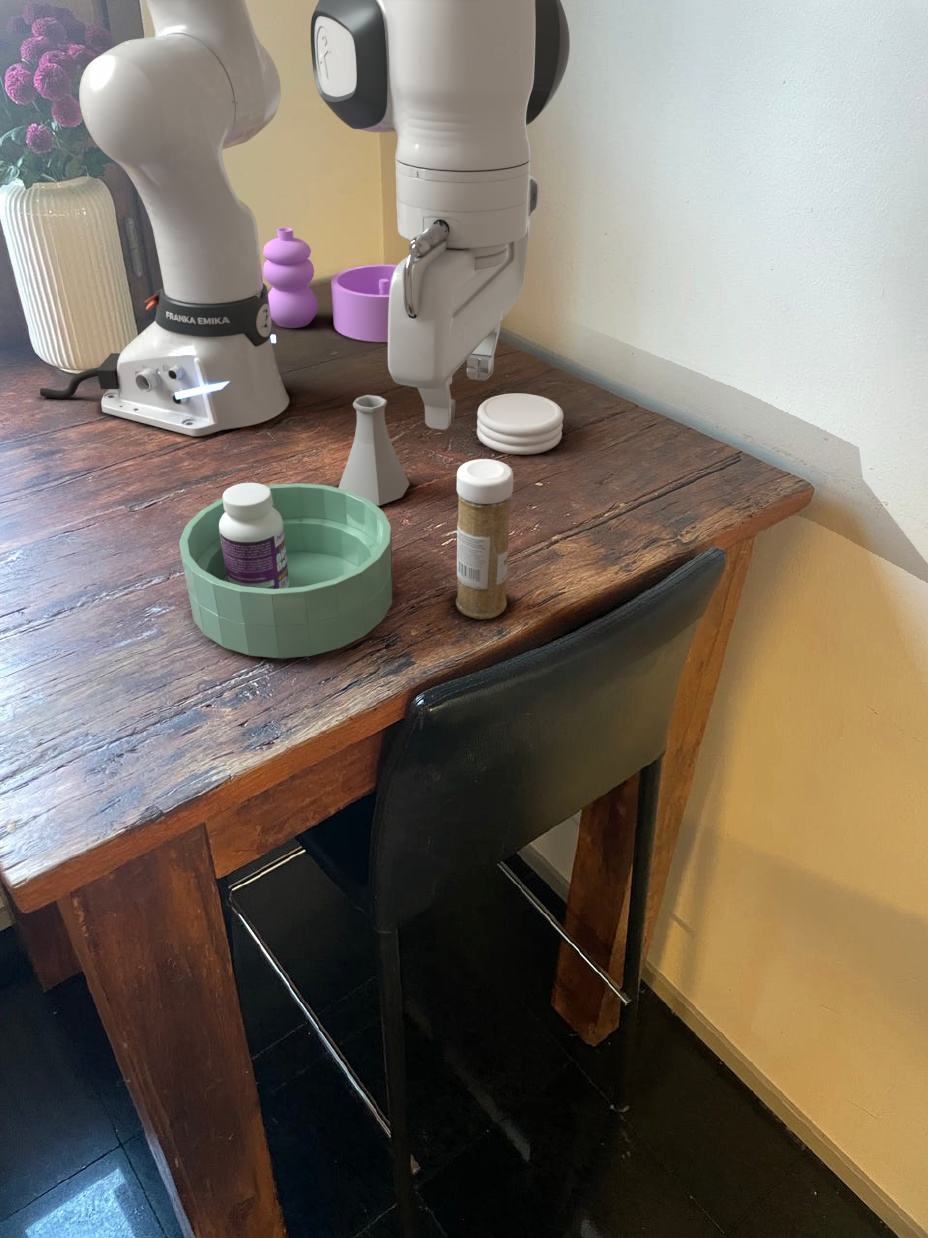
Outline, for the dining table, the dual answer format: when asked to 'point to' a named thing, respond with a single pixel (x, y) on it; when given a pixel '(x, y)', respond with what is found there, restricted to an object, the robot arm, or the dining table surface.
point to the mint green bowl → (296, 576)
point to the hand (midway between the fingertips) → (461, 399)
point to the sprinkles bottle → (483, 537)
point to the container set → (353, 290)
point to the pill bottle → (253, 538)
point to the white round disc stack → (519, 423)
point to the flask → (373, 456)
